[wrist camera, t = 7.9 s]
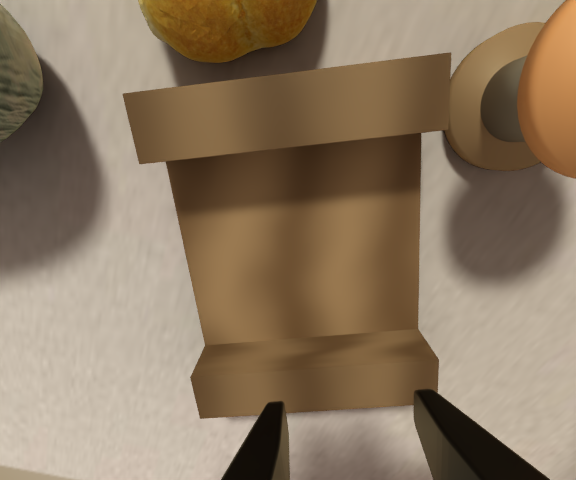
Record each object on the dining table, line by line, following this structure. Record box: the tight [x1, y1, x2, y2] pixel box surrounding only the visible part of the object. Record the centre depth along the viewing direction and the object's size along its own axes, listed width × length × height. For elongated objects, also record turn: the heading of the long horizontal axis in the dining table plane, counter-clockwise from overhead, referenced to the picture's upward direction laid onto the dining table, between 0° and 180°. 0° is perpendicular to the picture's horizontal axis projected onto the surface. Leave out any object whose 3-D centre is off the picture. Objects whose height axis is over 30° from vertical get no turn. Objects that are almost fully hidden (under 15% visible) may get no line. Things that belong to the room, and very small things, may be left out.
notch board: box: [123, 53, 451, 419], centre depth 17 cm, size 14×18×4 cm
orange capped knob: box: [444, 0, 576, 179], centre depth 13 cm, size 7×7×7 cm
